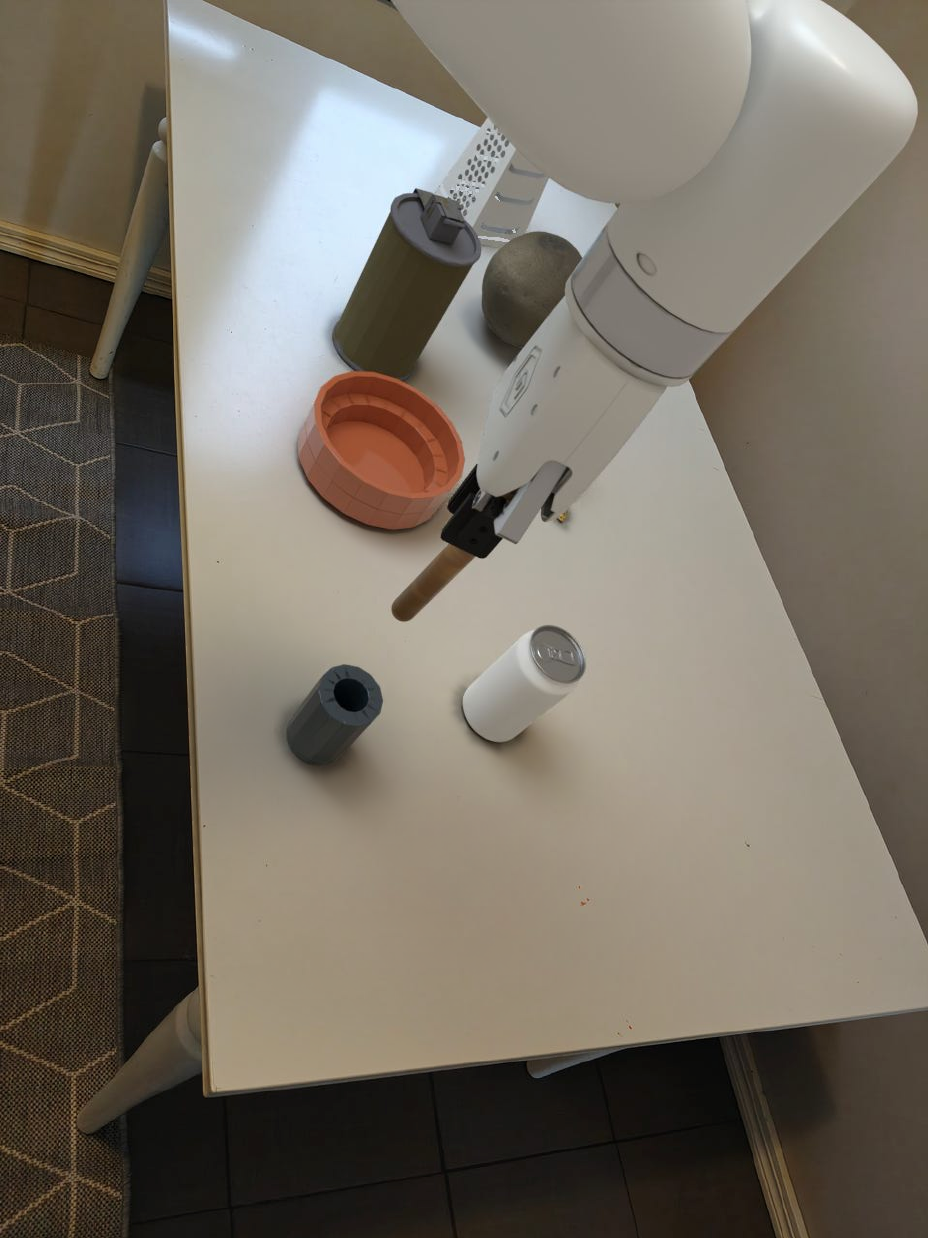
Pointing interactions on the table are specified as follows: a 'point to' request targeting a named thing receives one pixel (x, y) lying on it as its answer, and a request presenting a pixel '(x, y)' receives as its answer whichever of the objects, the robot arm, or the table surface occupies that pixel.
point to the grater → (495, 185)
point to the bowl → (380, 450)
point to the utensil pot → (334, 714)
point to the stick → (432, 580)
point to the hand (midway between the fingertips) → (466, 530)
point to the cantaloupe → (526, 284)
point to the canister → (406, 284)
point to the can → (524, 683)
